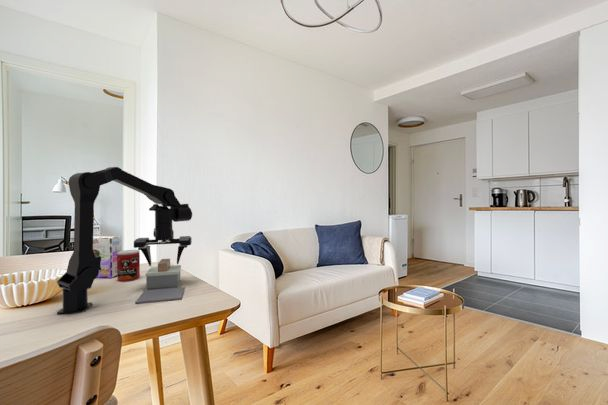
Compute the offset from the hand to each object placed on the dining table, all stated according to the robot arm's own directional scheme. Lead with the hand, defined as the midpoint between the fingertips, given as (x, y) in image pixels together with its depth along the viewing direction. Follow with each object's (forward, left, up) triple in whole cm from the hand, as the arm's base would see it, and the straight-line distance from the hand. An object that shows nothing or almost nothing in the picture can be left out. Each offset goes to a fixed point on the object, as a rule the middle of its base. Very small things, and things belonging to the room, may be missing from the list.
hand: (164, 265), depth 109 cm
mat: (-12, -1, -8) cm, 15 cm away
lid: (0, 0, -4) cm, 4 cm away
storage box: (0, 0, -8) cm, 8 cm away
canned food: (+14, +15, -8) cm, 22 cm away
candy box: (+22, +27, -8) cm, 36 cm away
